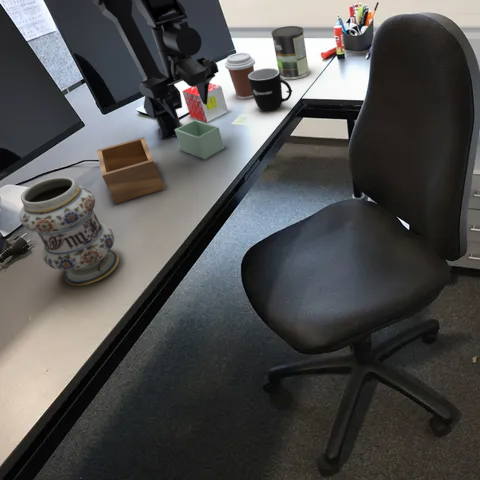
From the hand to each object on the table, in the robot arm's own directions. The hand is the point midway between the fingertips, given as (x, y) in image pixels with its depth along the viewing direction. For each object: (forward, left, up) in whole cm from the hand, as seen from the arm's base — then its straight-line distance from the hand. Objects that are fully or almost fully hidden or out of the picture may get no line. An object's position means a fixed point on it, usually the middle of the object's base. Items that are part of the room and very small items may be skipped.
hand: (190, 111), depth 121 cm
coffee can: (-35, +40, -11) cm, 54 cm away
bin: (0, 0, -11) cm, 11 cm away
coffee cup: (-28, +21, -11) cm, 37 cm away
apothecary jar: (+35, -30, -11) cm, 47 cm away
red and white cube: (-21, +7, -11) cm, 25 cm away
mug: (-13, +25, -11) cm, 30 cm away
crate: (+7, -18, -11) cm, 22 cm away
